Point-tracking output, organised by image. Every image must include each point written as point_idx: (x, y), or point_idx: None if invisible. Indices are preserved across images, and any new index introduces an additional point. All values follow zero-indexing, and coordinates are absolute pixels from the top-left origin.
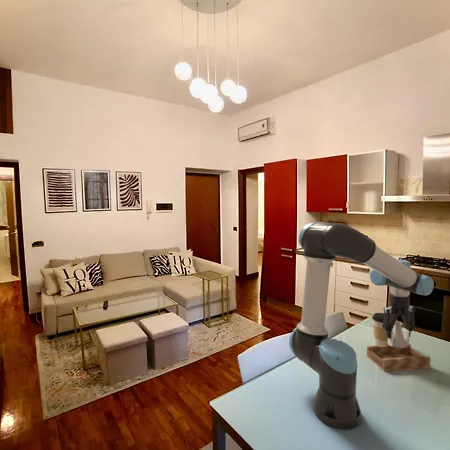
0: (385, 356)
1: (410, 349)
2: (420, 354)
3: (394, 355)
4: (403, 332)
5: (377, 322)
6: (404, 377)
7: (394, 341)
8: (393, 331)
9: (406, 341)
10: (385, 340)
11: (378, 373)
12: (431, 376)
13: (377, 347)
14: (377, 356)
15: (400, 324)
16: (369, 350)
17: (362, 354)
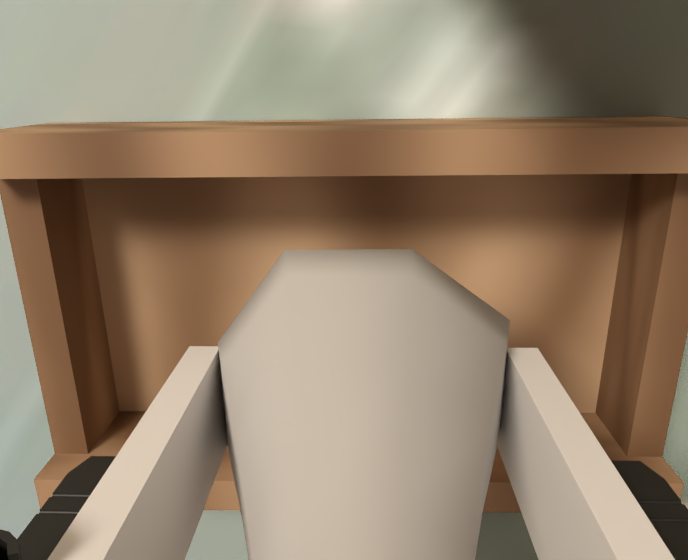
0: (267, 195)
1: (667, 208)
2: (670, 358)
3: (404, 183)
4: (575, 490)
5: None
6: (241, 517)
7: (237, 491)
8: (287, 473)
9: (514, 462)
10: None
11: (32, 444)
12: (500, 531)
13: (129, 175)
14: (49, 343)
15: None
16: (7, 181)
17: (15, 64)
